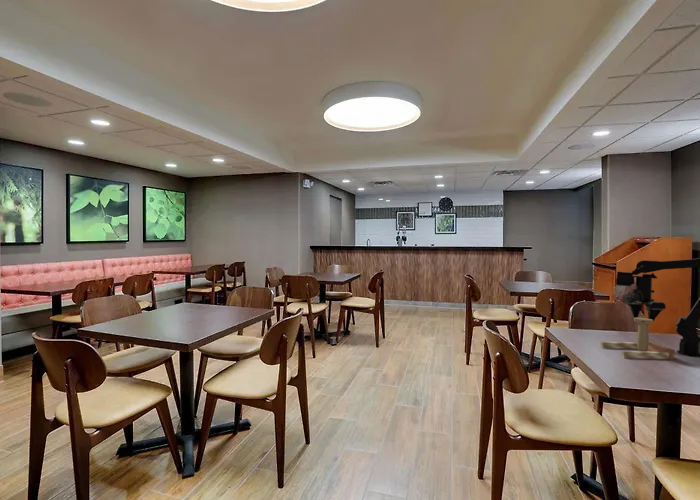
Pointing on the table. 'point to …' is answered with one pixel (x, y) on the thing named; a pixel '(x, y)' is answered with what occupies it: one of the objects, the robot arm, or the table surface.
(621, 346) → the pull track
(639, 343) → the handle
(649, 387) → the table surface
